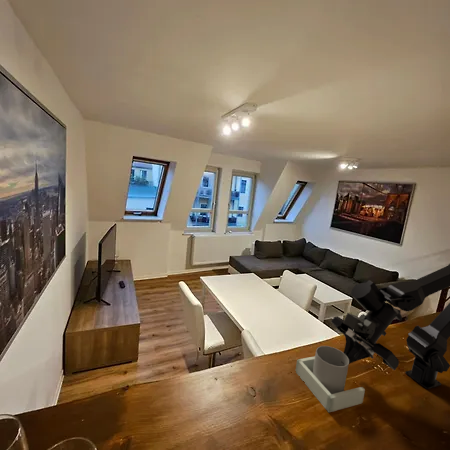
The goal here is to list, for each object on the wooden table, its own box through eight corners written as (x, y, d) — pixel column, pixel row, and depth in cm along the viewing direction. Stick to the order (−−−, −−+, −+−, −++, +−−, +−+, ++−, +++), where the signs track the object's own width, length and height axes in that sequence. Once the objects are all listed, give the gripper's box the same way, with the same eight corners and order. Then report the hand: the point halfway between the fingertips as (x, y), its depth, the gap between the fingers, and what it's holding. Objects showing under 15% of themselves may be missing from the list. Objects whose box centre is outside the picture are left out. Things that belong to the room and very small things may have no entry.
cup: (319, 401, 65) (325, 366, 63) (306, 376, 73) (310, 345, 71) (349, 400, 66) (356, 366, 64) (333, 376, 74) (338, 346, 72)
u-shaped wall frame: (324, 365, 78) (326, 354, 77) (362, 403, 65) (364, 389, 64) (295, 371, 74) (297, 359, 74) (328, 412, 61) (331, 398, 61)
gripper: (338, 291, 77) (306, 330, 75) (396, 322, 60) (356, 373, 58) (355, 311, 81) (325, 348, 79) (414, 345, 64) (378, 394, 62)
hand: (342, 363), depth 69 cm, fingers closed, pressing on cup
